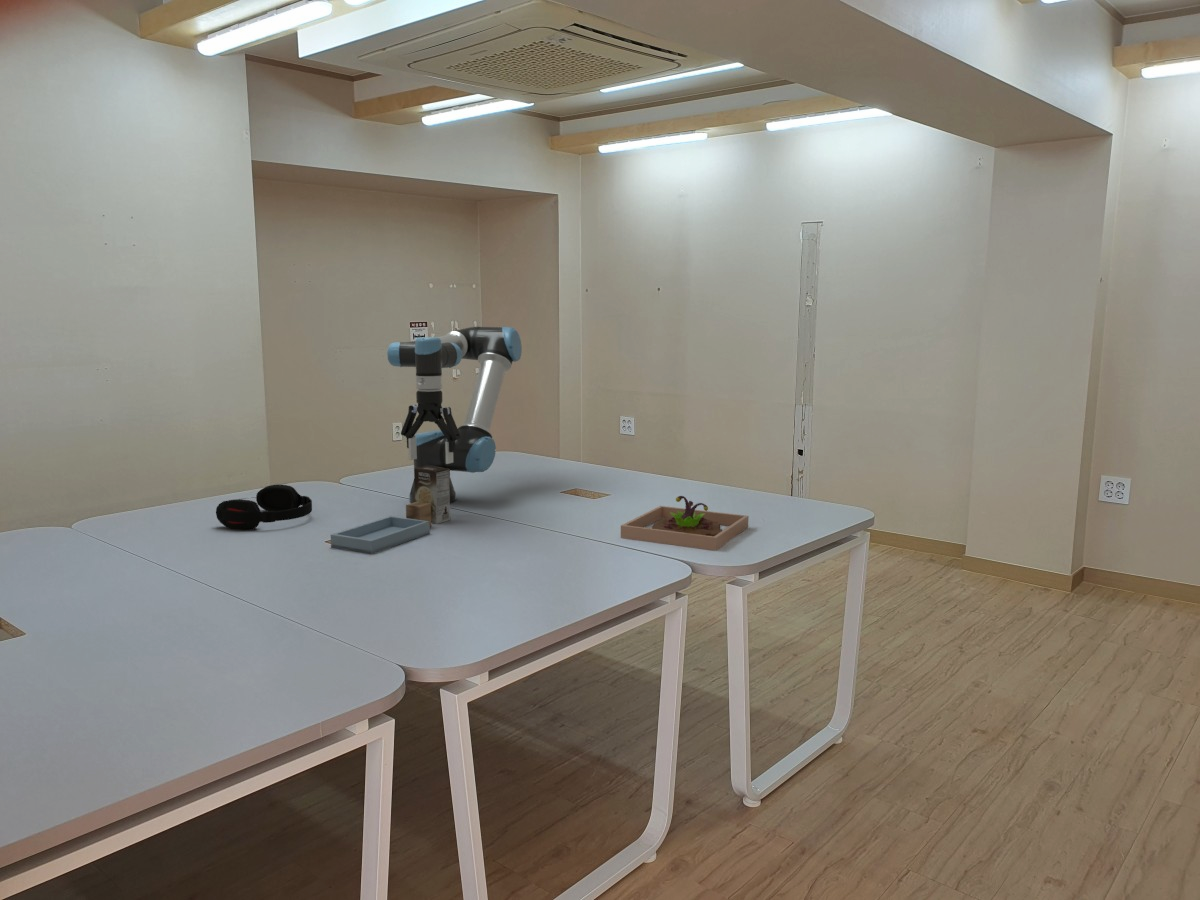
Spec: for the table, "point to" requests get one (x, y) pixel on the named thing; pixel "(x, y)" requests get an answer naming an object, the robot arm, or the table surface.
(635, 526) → the plant saucer
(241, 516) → the headset
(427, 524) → the tray
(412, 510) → the walnut block
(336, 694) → the table surface
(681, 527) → the plant
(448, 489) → the coffee box
